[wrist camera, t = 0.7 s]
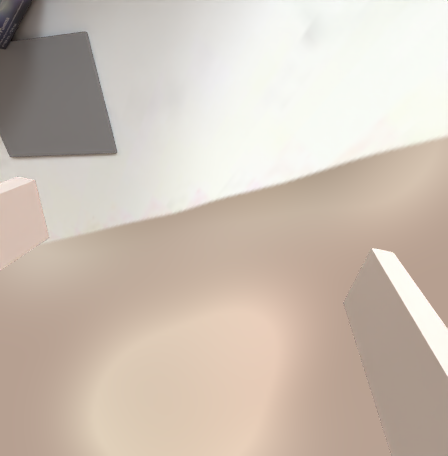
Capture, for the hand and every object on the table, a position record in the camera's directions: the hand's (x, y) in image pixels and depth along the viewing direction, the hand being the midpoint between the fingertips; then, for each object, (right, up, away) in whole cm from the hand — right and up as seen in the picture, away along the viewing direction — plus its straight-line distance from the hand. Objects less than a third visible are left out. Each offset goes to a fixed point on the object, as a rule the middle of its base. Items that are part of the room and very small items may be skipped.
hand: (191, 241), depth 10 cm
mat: (-23, +18, +25) cm, 39 cm away
